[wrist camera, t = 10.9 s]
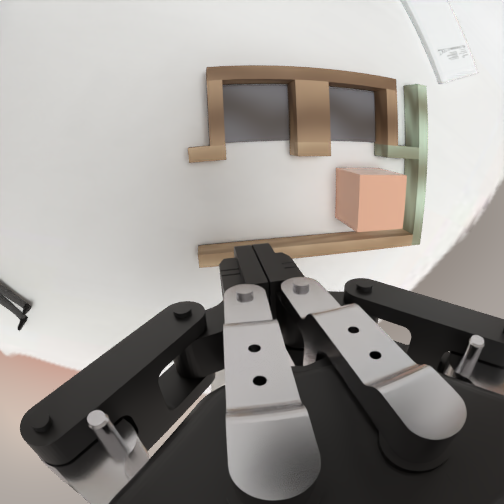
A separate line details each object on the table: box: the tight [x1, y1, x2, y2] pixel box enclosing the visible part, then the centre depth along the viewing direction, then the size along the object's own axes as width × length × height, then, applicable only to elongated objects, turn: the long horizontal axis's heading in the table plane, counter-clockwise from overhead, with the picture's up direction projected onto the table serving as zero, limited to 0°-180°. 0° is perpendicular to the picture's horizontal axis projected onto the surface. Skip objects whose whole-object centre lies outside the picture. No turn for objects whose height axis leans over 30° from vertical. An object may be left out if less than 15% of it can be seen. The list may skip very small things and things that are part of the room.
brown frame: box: [188, 66, 428, 268], centre depth 26 cm, size 17×23×2 cm
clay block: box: [335, 168, 407, 232], centre depth 27 cm, size 5×5×5 cm
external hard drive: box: [401, 0, 478, 84], centre depth 23 cm, size 2×8×12 cm
